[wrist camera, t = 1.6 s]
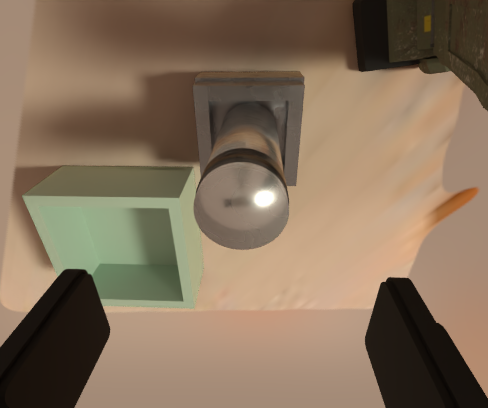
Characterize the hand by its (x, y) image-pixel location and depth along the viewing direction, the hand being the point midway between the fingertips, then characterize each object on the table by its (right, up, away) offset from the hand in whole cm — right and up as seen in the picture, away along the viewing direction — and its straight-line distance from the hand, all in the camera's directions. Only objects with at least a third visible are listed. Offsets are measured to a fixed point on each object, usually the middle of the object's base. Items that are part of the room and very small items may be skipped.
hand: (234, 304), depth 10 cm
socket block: (+1, +11, +17) cm, 20 cm away
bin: (-11, +1, +23) cm, 26 cm away
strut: (+1, +9, +14) cm, 17 cm away
